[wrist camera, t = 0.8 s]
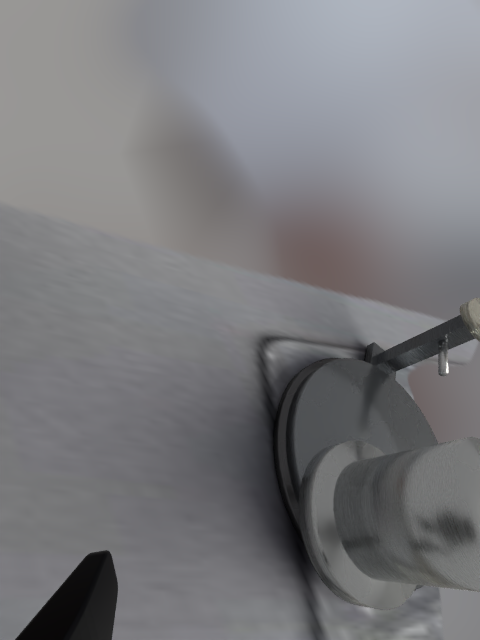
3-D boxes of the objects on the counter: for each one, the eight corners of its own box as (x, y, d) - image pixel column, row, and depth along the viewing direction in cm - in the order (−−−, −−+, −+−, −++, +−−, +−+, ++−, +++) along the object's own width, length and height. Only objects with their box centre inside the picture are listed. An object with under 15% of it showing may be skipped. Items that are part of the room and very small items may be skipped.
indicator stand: (366, 344, 33) (472, 289, 26) (390, 364, 34) (500, 316, 27) (358, 388, 30) (477, 340, 23) (385, 409, 30) (510, 369, 23)
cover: (412, 610, 21) (598, 643, 14) (297, 599, 18) (469, 634, 11) (392, 460, 25) (524, 435, 19) (299, 430, 22) (420, 388, 16)
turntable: (456, 607, 25) (482, 610, 23) (266, 585, 19) (287, 589, 18) (415, 392, 34) (432, 387, 33) (279, 333, 28) (293, 323, 27)
